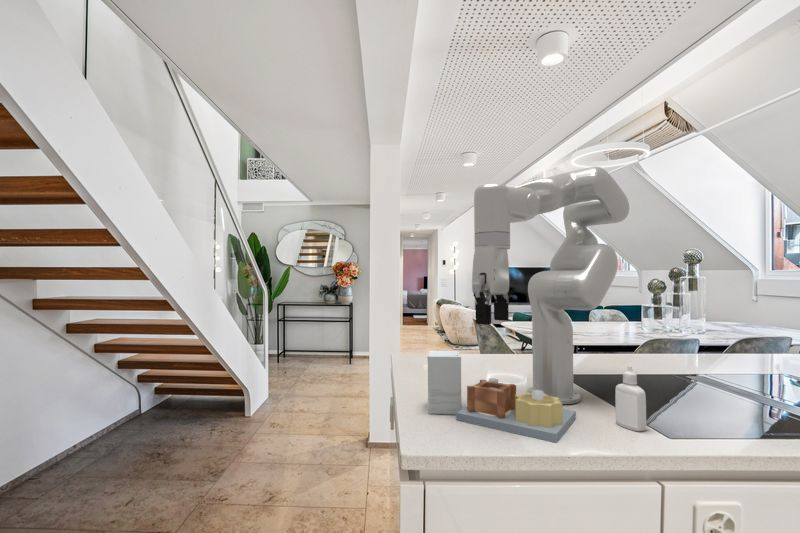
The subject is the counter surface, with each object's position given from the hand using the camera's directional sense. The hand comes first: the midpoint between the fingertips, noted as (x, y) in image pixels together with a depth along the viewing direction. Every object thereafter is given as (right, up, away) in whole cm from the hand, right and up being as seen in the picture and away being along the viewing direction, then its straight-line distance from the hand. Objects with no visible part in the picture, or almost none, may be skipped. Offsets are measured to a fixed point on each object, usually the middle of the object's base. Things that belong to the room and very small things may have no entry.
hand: (492, 322), depth 86 cm
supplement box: (-10, -21, +4) cm, 23 cm away
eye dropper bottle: (+26, -20, -6) cm, 34 cm away
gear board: (+5, -20, -2) cm, 21 cm away
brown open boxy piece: (0, -18, -1) cm, 19 cm away
